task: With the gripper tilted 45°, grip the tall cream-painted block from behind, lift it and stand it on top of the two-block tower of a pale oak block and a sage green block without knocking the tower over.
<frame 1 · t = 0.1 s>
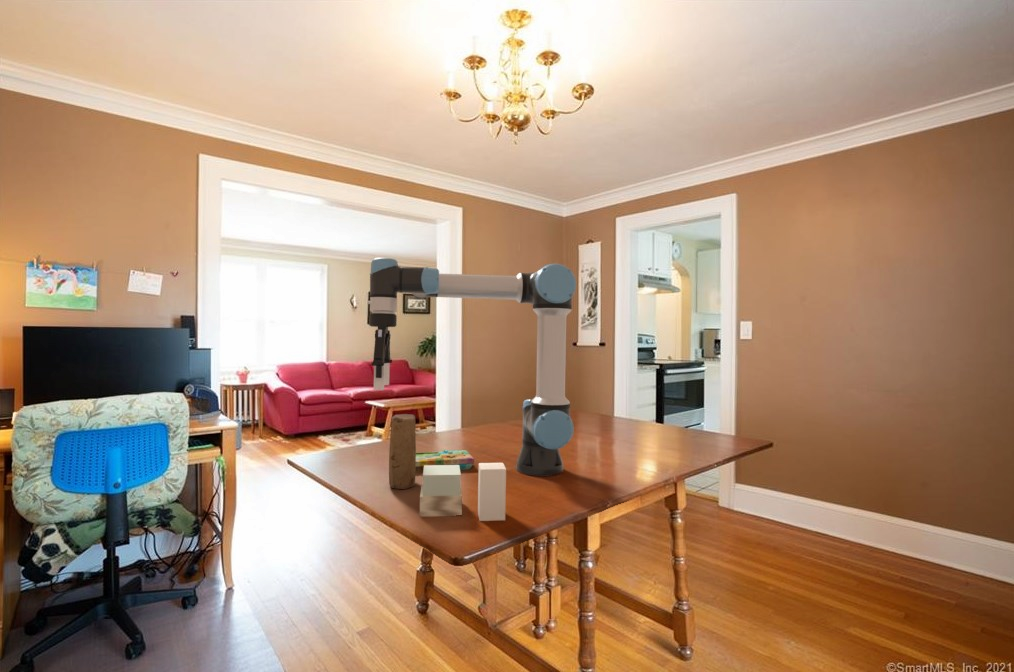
hand: (381, 387, 142), 28 cm above the table, tool pointing down, fingers open, 13 cm apart
puzzle game: (440, 468, 163), on the table
tower top: (441, 489, 124), point 5 cm above the table, touching tower base
tower base: (440, 510, 124), on the table, touching tower top
block: (402, 485, 143), on the table
cream block: (491, 516, 119), on the table
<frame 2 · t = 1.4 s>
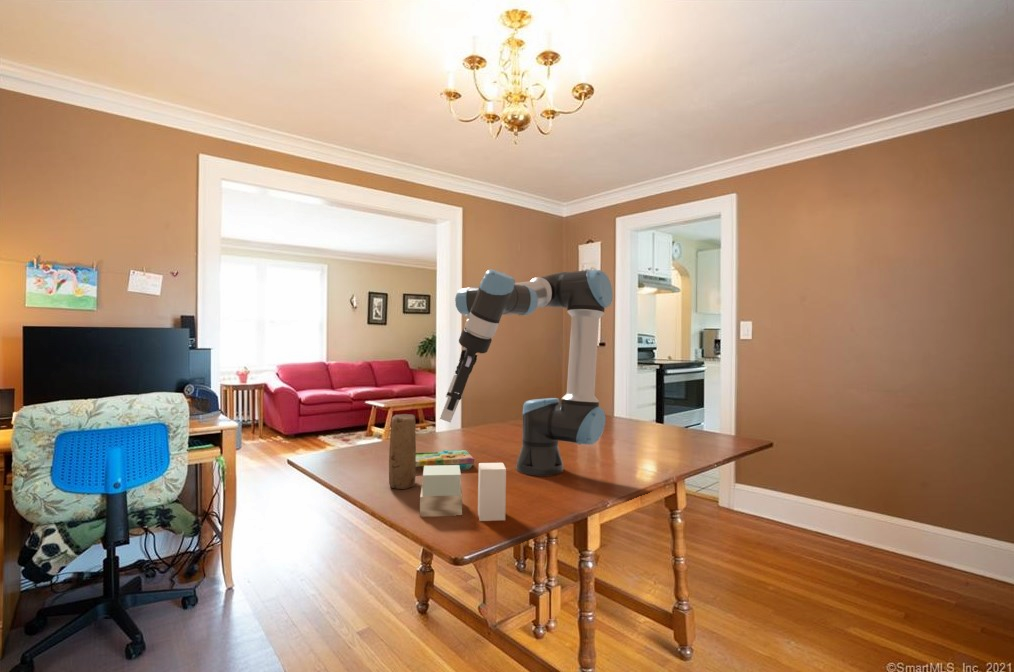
hand: (447, 408, 125), 25 cm above the table, tool tilted 25°, fingers open, 13 cm apart
tower top: (441, 490, 123), point 5 cm above the table
tower base: (441, 510, 124), on the table
everything else where it was.
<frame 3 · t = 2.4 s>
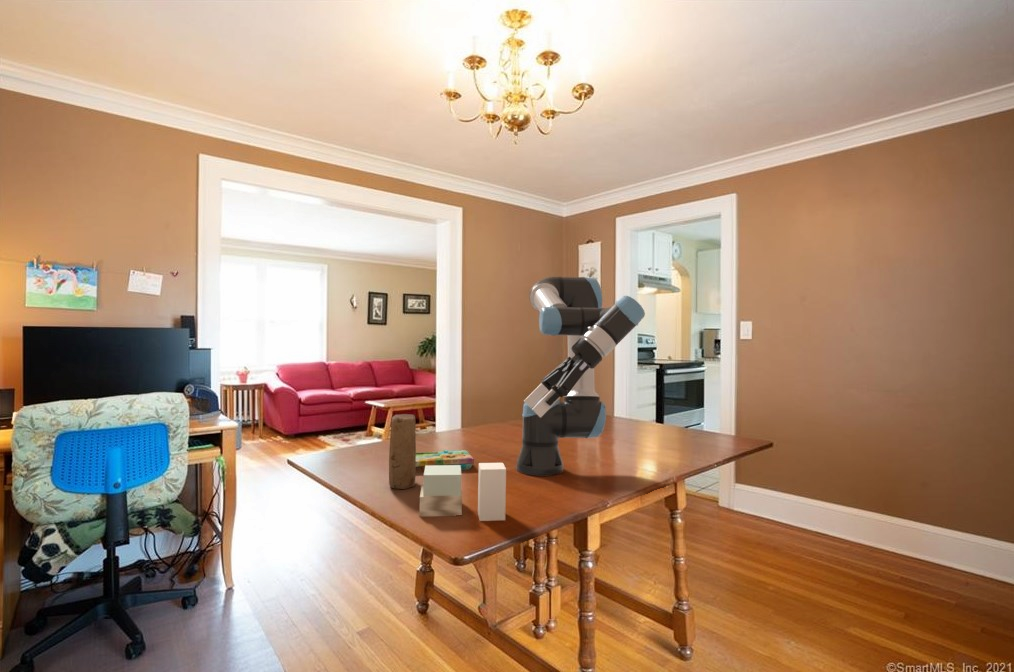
hand: (531, 409, 121), 26 cm above the table, tool tilted 45°, fingers open, 13 cm apart
tower top: (442, 490, 124), point 5 cm above the table, touching tower base
tower base: (440, 510, 124), on the table, touching tower top
everything else where it was.
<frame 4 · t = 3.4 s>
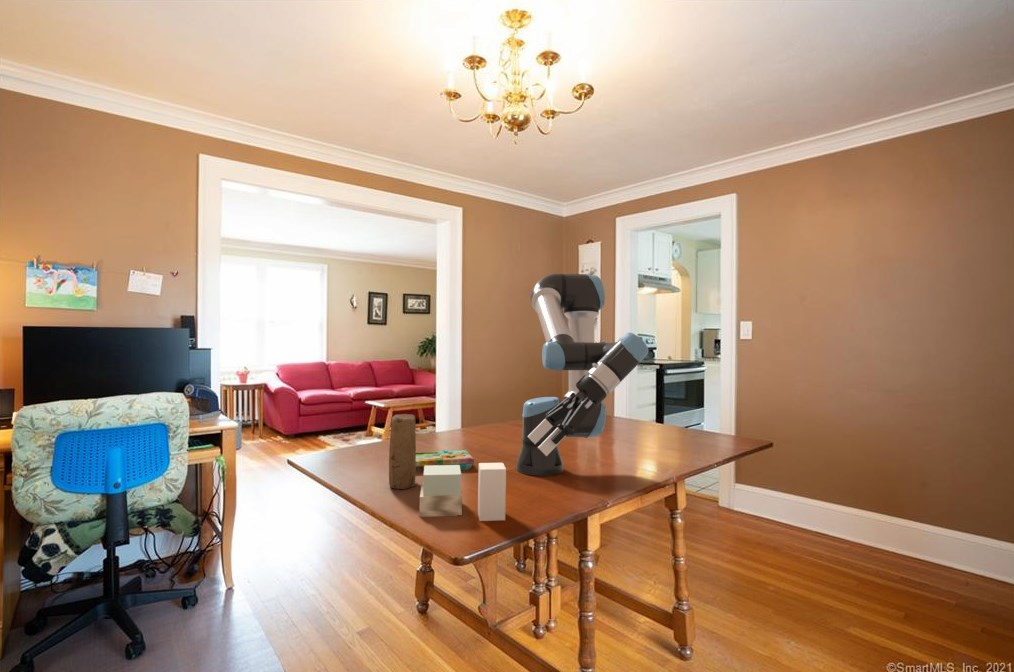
hand: (536, 446, 121), 17 cm above the table, tool tilted 45°, fingers open, 13 cm apart
nothing on the table moved.
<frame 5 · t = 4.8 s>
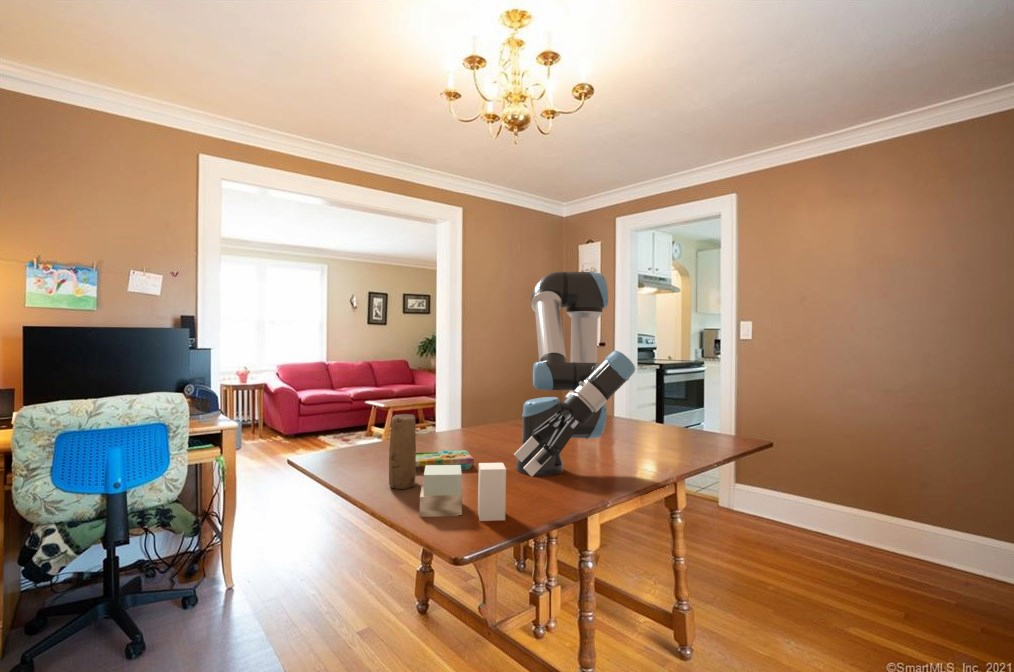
hand: (522, 465, 120), 12 cm above the table, tool tilted 45°, fingers open, 13 cm apart
nothing on the table moved.
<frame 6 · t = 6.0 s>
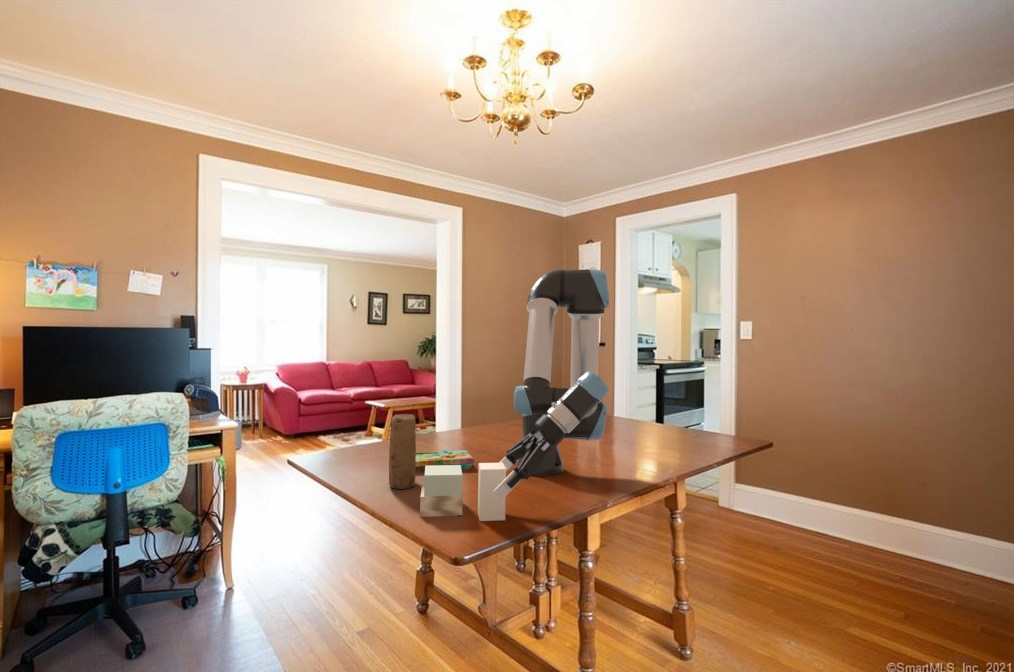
hand: (493, 486, 119), 7 cm above the table, tool tilted 45°, fingers open, 13 cm apart
nothing on the table moved.
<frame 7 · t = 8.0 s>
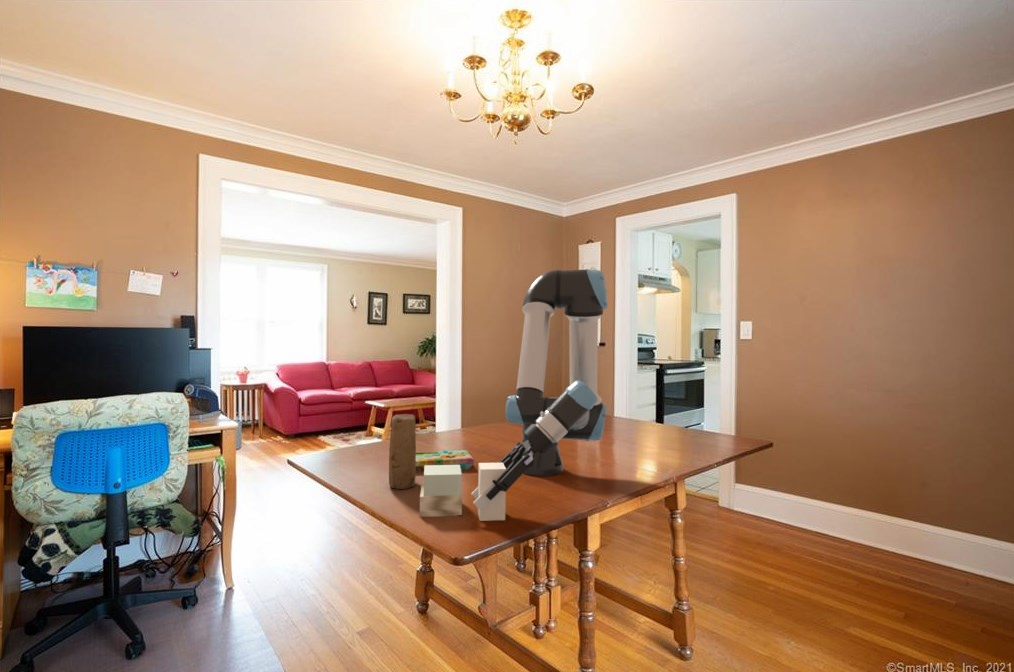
hand: (476, 501, 119), 3 cm above the table, tool tilted 45°, fingers closed on cream block, 6 cm apart
tower top: (442, 489, 123), point 5 cm above the table
tower base: (440, 509, 123), on the table
cream block: (491, 515, 119), on the table, touching gripper
everything else where it was.
when the fingers open (15 cm above the table, at t = 13.8 s): cream block drops 2 cm, resting on tower top.
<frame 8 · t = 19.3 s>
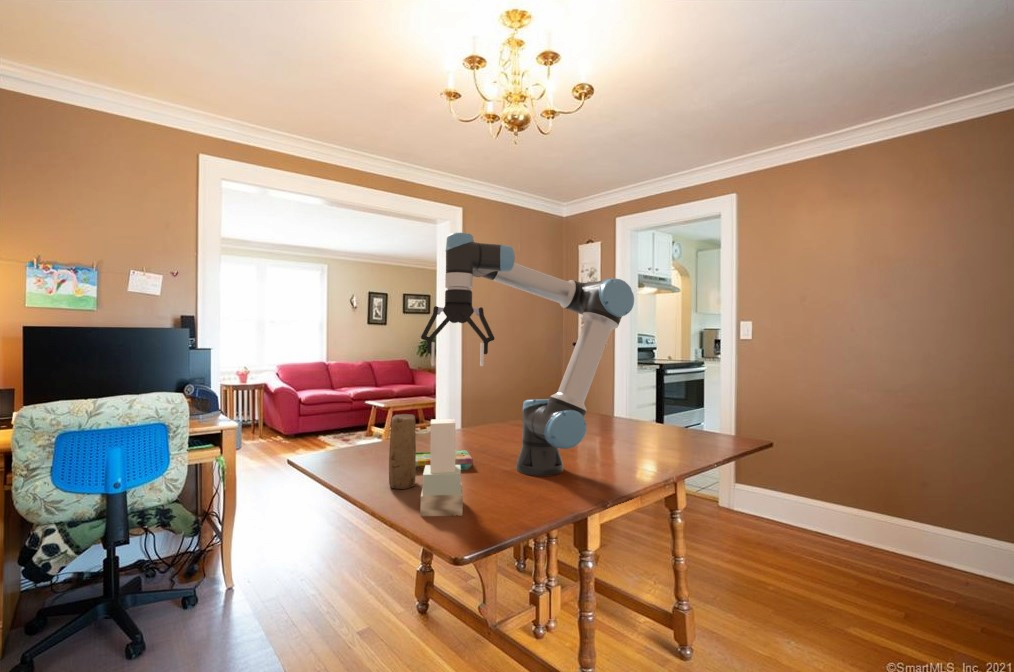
hand: (457, 366, 138), 35 cm above the table, tool pointing down, fingers open, 13 cm apart
tower top: (442, 489, 124), point 5 cm above the table, touching cream block, tower base
tower base: (441, 509, 124), on the table, touching tower top
cream block: (442, 469, 124), point 10 cm above the table, touching tower top
everything else where it was.
at the end: cream block 0.1 cm off-centre on the tower top, point 5.0 cm above the tower top's base; cream block tilted 1°; tower top 0.0 cm off-centre on the tower base, point 5.0 cm above the tower base's base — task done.
